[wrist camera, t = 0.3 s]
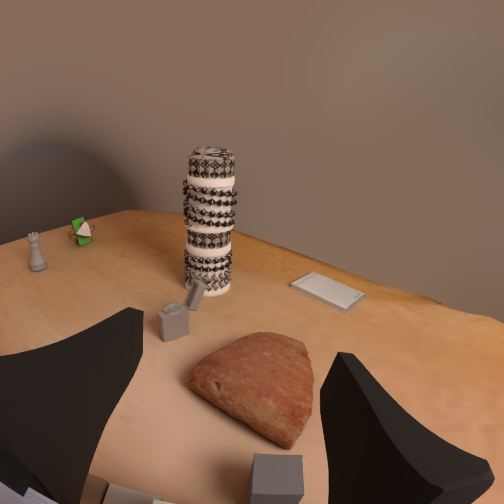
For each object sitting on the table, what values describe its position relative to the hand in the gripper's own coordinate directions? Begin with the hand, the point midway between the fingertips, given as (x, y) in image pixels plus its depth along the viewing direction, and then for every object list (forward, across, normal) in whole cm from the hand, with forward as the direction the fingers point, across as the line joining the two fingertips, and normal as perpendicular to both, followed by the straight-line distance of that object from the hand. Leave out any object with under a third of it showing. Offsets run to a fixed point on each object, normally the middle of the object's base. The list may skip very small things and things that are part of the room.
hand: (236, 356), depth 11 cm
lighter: (+28, +7, +21) cm, 36 cm away
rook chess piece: (+41, +45, +25) cm, 66 cm away
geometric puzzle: (+57, +42, +24) cm, 75 cm away
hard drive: (+44, -16, +18) cm, 51 cm away
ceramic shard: (+19, -6, +20) cm, 28 cm away
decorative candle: (+43, +6, +20) cm, 48 cm away
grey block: (+4, -6, +20) cm, 22 cm away
